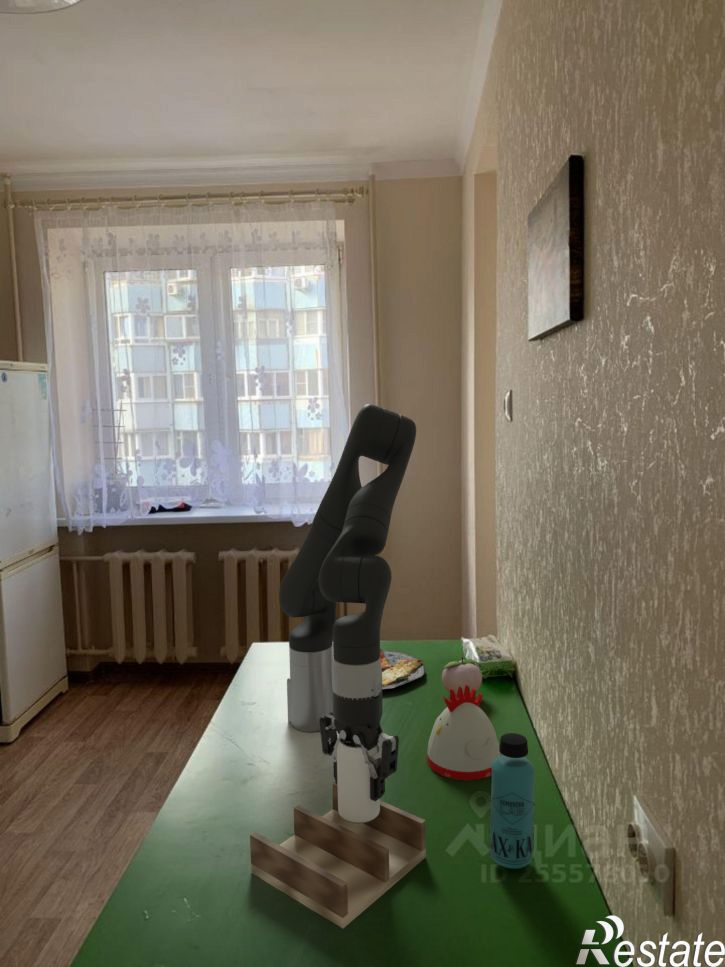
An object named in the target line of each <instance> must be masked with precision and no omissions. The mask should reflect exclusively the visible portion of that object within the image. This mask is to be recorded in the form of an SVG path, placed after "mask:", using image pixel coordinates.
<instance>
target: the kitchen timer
mask: <svg viewBox="0 0 725 967" xmlns="http://www.w3.org/2000/svg"><path fill="white" fill-rule="evenodd" d="M476 695H477V692H476V690H475V689H472V691H471V693H470V689H469V686H467V685H466V686H465V690H464V695H463V690H462V687H460V686H459V688H458V693H457V697H456V696H455V693H454V691H453V690H452V689H450V693H449V699H448V698H446V697H445V696H443V702H444V703H445V705H446V708H444V710H443V711H442V712H441V713H440V714H439V715H438V716H437V717H436V718H435V720H434V722H433V723H434V724H433V727H432V730H431V733H430V736H429V739H428V743H427V751H426V752H427V753H426V761H427V763H428V766H429V768H430V769H432V771H434V773H437V774H439V775H440V776H443V777H447V778H449V779H453V780H459V779H461V781H472V780H471V779H477V780H481V778H483V779H485V778H488V777H490V776H491V777H492V762H493V761H494V760H495V759H496V758H498V757H499V756H501V753H500V751H499V746H500V742H499V740H498V736H497V734H496V730H495V728H494V726H493V724H492V722H491V720H490V719H489V716H487V714H486V712H484V710H483V709H482V708H481V707H480V705H481V702H482V700H483V694H482V693H481V692H480V693H478V695H477V697H476Z"/></svg>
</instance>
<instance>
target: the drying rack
mask: <svg viewBox="0 0 725 967" xmlns="http://www.w3.org/2000/svg"><path fill="white" fill-rule="evenodd" d="M331 785H332V787H331V788H332V791H331V792H332V809H331V810H329V811H328V812H326V813H325V814H323V815H320V814H317V813H315V812H314V811H311V810H310V809H307V808H305V807H303V806H302V805H300V804H297V805H296V806H294V807H293V827H294V828H293V835H292V836H290V837H288V838H287V839H285V840H284V841H282V842H281V843H280V844H279V843H276V842H275V841H273V840H271V839H269V838H267V837H266V836H263V835H262V834H260V833H258V832H256V831H253V833H251V834H250V835H249V847H250V872H251V874H252V875H254V876H255V877H257V878H259V879H261V880H262V881H264V882H266V883H267V884H268V885H270V886H272V887H274V888H275V889H276V890H278V891H281V892H282V893H284V894H285V895H287V896H289V897H290V898H292V899H293V900H295V901H297V902H298V903H300V904H301V905H304V906H305V907H306V908H308V909H310V910H311V911H313V912H315V913H317V914H318V915H320V916H321V917H323V918H325V919H326V920H328V921H329V922H331V923H333V924H334V925H336V926H338V927H339V928H341V929H345V928H346V927H347V926H348V925H349V924H350V923H352V922H353V921H355V919H356V918H357V917H358V916H359V915H361V914H362V913H363V912H365V910H366V909H368V908H369V907H370V906H371V905H372V904H373V903H375V902H376V901H377V900H378V899H380V897H381V896H383V895H385V893H386V892H388V890H390V889H391V888H392V887H393V886H394V885H395V884H396V883H398V882H399V881H401V879H403V878H404V877H405V876H406V875H407V874H408V873H409V872H410V871H412V870H413V869H414V868H415V867H416V866H417V865H419V864H420V863H421V862H423V860H425V859H426V857H427V856H426V855H427V854H426V851H427V850H426V849H427V847H426V845H427V844H426V843H427V842H426V841H427V840H426V839H427V838H426V836H427V835H426V832H427V831H426V828H427V827H426V822H427V821H426V820H425V819H424V818H421V817H419V816H417V815H415V814H412V813H410V812H408V811H405V810H403V809H401V808H399V807H396V806H394V805H392V804H390V803H387V802H385V801H383V800H380V812H379V814H378V816H377V817H376V818H375V819H373V820H372V821H370V822H366V823H351V822H348V821H346V820H344V819H343V818H342V817H341V816H340V815H339V812H338V786H337V784H336V783H335V781H334V782H333V783H331Z"/></svg>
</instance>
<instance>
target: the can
mask: <svg viewBox="0 0 725 967" xmlns="http://www.w3.org/2000/svg"><path fill="white" fill-rule="evenodd" d="M339 740H340V739H339ZM361 748H362V747H357V746H356V745H355V744H354V743H351V742H350V741H347V740H346V741H345V742H342V741H341V740H340V743H339V745H338V747H337V786H338V812H339V815H340V816H341V817H342V818H343V819H344V820H346V821H348V822H351V823H366V822H370V821H372V820H373V819H375V818H376V817H377V816H378V814H379V812H380V801H381V798H380V799H378V800H377V801H373V800H371V799H370V777H371V774H370V771H369V769H368V764H365V759H364V757H365V756H364V755H363V753H362V750H361ZM377 752H378V749H377V746H375V747H374V748H372V749H371V750H368V753H369V755H370V756H373V755H374V754H376V753H377ZM375 765H376V767H378V765H377V759H376V760H375Z"/></svg>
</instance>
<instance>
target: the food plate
mask: <svg viewBox="0 0 725 967" xmlns="http://www.w3.org/2000/svg"><path fill="white" fill-rule="evenodd" d="M380 661H381V668H382V690H388V689H395V688H397V687H399V686H400V687H401V686H402V685H406V684H407V683H411V682H413V681H415V680H417V679H420V678H422V677H423V676H424V675H425V674H426V670H425V666H426V665H425V664H423V660H422V659H419V658H416V657H414V656H412V655H410V654H407V653H403V652H400V651H392V650H382V649H381V648H380Z"/></svg>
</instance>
